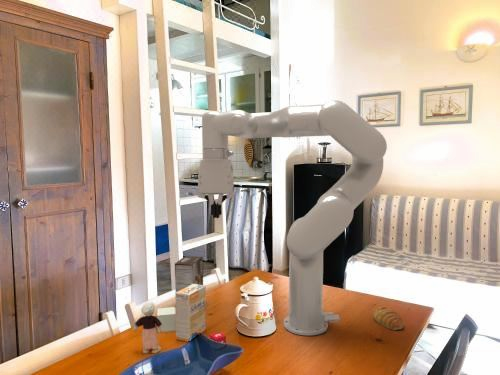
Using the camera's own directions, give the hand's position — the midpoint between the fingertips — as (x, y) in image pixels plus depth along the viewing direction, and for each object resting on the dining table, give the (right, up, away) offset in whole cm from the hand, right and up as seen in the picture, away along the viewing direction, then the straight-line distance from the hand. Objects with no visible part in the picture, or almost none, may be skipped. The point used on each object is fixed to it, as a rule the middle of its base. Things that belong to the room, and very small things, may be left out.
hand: (216, 217), depth 111 cm
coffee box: (-10, -31, +11) cm, 34 cm away
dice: (+2, -33, -13) cm, 35 cm away
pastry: (+51, -31, 0) cm, 60 cm away
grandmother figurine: (-16, -33, -15) cm, 40 cm away
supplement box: (-6, -32, -7) cm, 33 cm away
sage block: (-14, -32, -3) cm, 35 cm away
